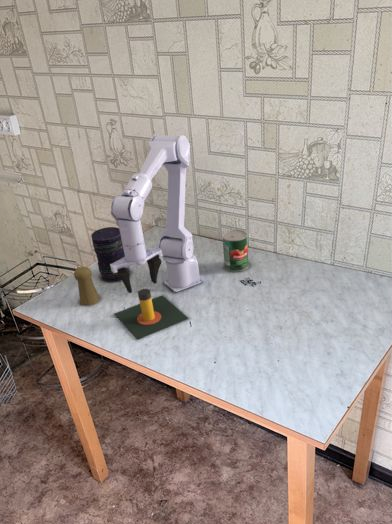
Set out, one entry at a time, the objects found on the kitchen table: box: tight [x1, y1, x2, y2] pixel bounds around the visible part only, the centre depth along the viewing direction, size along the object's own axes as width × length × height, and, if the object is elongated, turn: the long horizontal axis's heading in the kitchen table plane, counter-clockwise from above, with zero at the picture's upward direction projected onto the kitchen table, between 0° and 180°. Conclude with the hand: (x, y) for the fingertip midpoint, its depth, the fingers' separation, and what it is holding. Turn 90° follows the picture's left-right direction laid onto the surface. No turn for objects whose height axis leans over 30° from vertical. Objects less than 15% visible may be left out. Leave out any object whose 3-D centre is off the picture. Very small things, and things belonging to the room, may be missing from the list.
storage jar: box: [90, 226, 131, 283], centre depth 166 cm, size 10×10×15 cm
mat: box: [114, 294, 189, 340], centre depth 147 cm, size 16×16×1 cm
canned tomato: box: [221, 229, 250, 273], centre depth 163 cm, size 8×8×11 cm
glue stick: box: [137, 288, 155, 321], centre depth 143 cm, size 4×4×8 cm
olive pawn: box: [73, 266, 100, 306], centre depth 155 cm, size 6×6×11 cm
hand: (141, 286), depth 141 cm, fingers open, 7 cm apart
